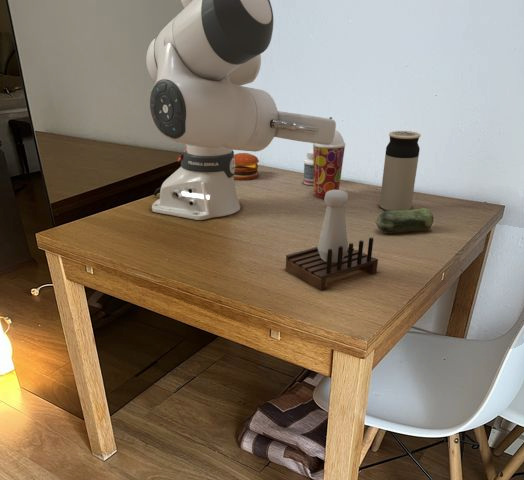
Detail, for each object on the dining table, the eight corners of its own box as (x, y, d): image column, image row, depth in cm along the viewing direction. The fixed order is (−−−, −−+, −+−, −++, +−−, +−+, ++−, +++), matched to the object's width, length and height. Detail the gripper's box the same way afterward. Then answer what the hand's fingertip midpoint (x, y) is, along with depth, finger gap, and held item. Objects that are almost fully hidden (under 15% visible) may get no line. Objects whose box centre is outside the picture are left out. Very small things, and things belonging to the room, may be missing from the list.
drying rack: (285, 270, 107) (286, 234, 103) (339, 254, 114) (342, 220, 110) (320, 290, 100) (323, 253, 96) (376, 273, 106) (381, 236, 102)
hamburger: (226, 180, 162) (225, 157, 159) (230, 172, 170) (229, 149, 167) (257, 180, 161) (257, 157, 158) (260, 172, 169) (260, 150, 166)
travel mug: (405, 214, 136) (416, 138, 126) (375, 209, 139) (383, 134, 129) (414, 205, 141) (425, 132, 132) (385, 200, 145) (394, 129, 135)
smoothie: (320, 189, 154) (324, 113, 143) (346, 194, 150) (353, 116, 139) (304, 196, 148) (308, 118, 137) (331, 202, 144) (337, 121, 133)
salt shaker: (345, 265, 102) (351, 197, 95) (315, 263, 103) (319, 195, 96) (347, 254, 107) (353, 187, 100) (318, 251, 108) (322, 186, 101)
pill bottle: (316, 186, 156) (317, 154, 151) (300, 184, 158) (301, 152, 154) (324, 182, 160) (326, 151, 155) (308, 179, 162) (310, 148, 157)
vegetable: (425, 225, 129) (428, 204, 126) (435, 232, 125) (439, 211, 122) (369, 229, 127) (372, 208, 124) (378, 237, 122) (380, 215, 120)
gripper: (305, 103, 75) (360, 114, 85) (207, 92, 87) (266, 102, 97) (298, 152, 77) (352, 156, 87) (204, 134, 90) (261, 139, 99)
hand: (306, 127), depth 92 cm, fingers open, 8 cm apart
